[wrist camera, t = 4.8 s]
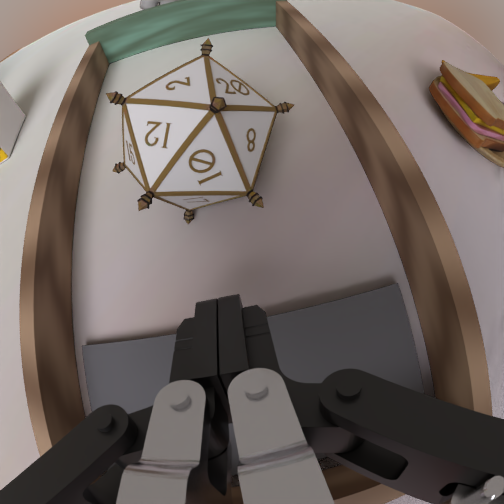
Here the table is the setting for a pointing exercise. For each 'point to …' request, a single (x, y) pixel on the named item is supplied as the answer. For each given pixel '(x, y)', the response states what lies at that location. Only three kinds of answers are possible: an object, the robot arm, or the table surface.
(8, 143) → the medicine bottle
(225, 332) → the robot arm
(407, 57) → the table surface
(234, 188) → the game die
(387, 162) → the walnut track
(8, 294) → the table surface
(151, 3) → the toy rhinoceros
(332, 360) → the trap pads
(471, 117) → the toy sandwich meal
